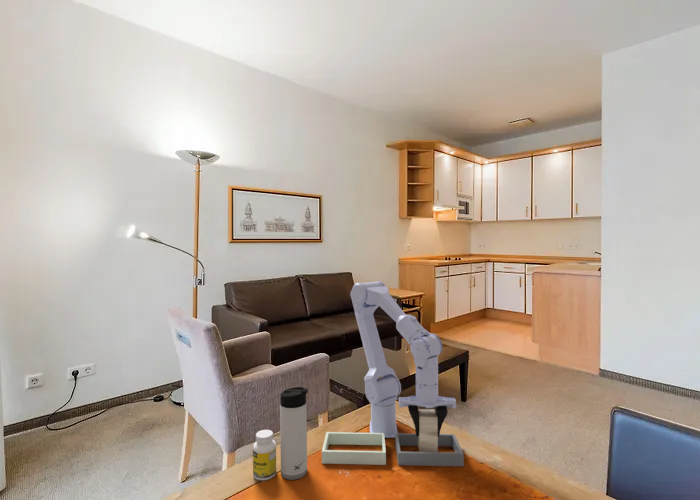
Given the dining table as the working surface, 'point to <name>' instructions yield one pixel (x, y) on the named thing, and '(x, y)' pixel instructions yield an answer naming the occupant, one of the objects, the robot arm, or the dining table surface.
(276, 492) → the dining table surface
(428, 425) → the ash block
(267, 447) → the supplement bottle
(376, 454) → the bin
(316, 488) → the dining table surface
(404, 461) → the bin
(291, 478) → the travel mug
